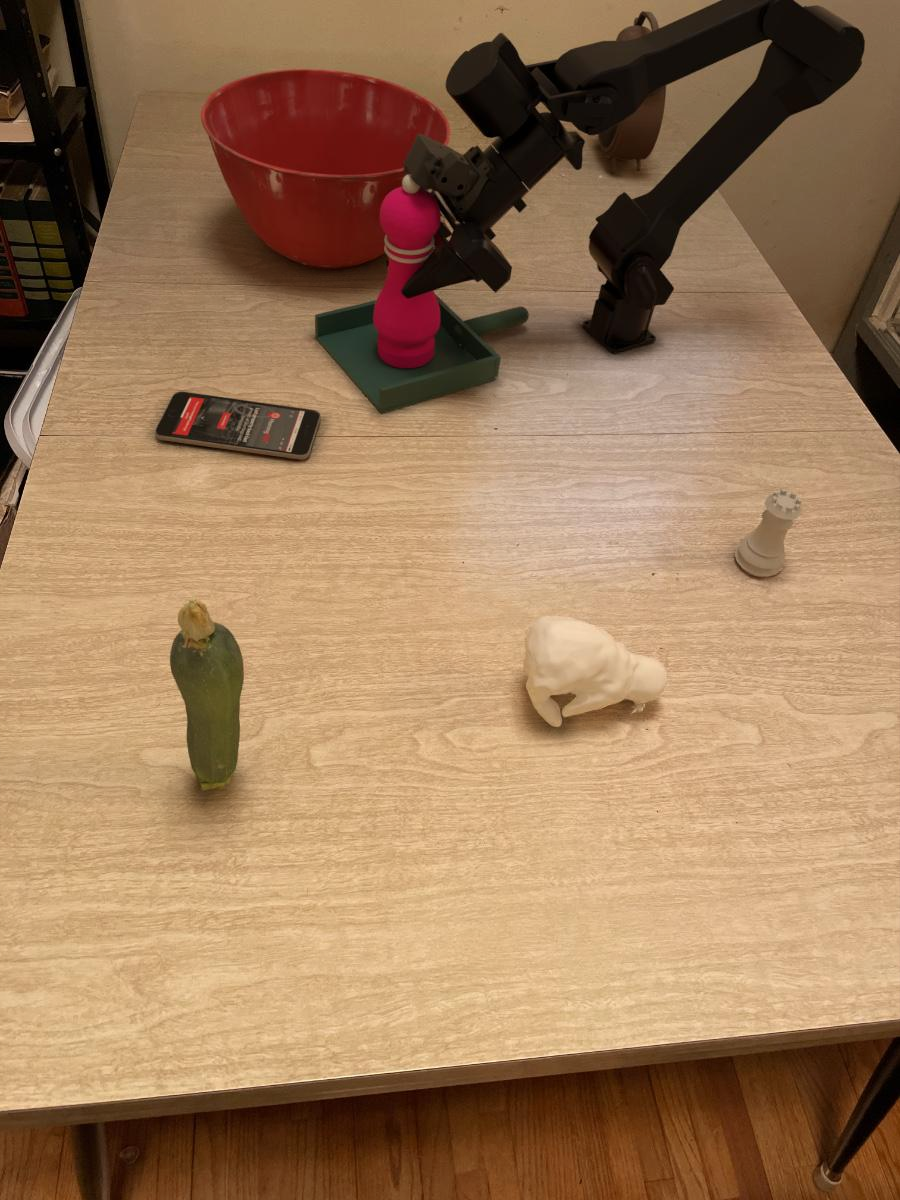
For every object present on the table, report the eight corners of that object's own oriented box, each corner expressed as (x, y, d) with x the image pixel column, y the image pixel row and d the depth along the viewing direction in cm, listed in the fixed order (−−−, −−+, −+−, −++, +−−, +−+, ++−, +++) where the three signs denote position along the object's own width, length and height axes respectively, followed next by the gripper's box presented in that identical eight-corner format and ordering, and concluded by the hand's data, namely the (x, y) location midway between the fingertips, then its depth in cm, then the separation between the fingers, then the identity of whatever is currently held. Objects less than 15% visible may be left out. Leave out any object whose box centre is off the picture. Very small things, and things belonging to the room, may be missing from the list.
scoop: (381, 413, 99) (382, 390, 97) (314, 337, 108) (314, 314, 105) (562, 360, 109) (567, 338, 107) (489, 294, 117) (492, 272, 115)
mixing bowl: (483, 270, 121) (499, 146, 109) (279, 325, 108) (273, 191, 97) (367, 176, 135) (370, 57, 124) (175, 214, 123) (159, 86, 112)
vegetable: (195, 750, 71) (161, 560, 56) (255, 749, 71) (237, 560, 56) (189, 803, 68) (152, 617, 53) (252, 802, 68) (232, 617, 53)
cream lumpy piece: (530, 594, 72) (680, 606, 74) (504, 664, 78) (643, 673, 81) (541, 661, 68) (699, 671, 70) (513, 729, 74) (659, 736, 76)
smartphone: (175, 390, 97) (321, 410, 97) (176, 396, 98) (321, 416, 98) (152, 434, 92) (307, 456, 92) (153, 440, 93) (307, 462, 93)
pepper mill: (359, 354, 106) (357, 175, 90) (399, 325, 110) (404, 149, 94) (411, 380, 103) (419, 201, 88) (451, 350, 107) (464, 173, 92)
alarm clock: (583, 140, 151) (611, -5, 136) (628, 142, 152) (660, -1, 137) (603, 182, 141) (635, 32, 126) (650, 184, 142) (688, 36, 127)
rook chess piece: (781, 584, 88) (814, 520, 82) (733, 574, 88) (762, 510, 83) (780, 551, 91) (811, 487, 85) (733, 541, 91) (761, 477, 86)
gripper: (429, 69, 94) (319, 188, 99) (496, 153, 82) (368, 282, 87) (494, 147, 102) (389, 253, 107) (563, 234, 90) (442, 347, 95)
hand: (396, 280), depth 99 cm, fingers open, 5 cm apart
